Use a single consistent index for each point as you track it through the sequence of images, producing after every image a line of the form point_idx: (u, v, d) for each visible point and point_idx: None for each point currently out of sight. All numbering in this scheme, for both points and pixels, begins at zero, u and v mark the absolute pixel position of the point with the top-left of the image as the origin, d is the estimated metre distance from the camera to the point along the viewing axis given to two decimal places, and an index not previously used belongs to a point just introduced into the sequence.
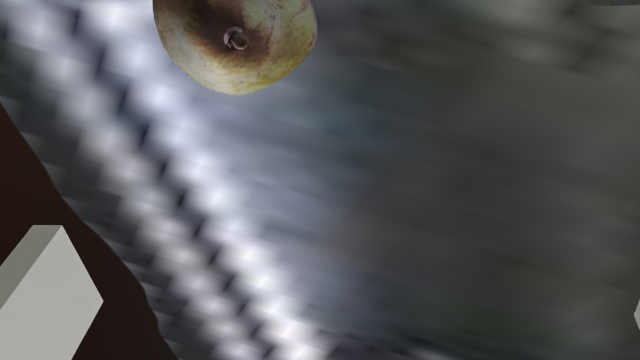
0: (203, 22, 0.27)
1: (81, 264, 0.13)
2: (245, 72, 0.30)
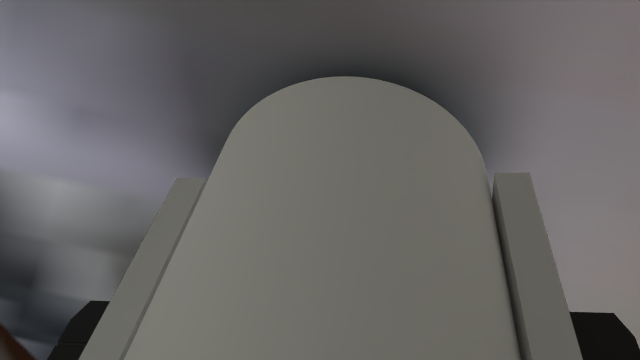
0: None
1: None
2: None
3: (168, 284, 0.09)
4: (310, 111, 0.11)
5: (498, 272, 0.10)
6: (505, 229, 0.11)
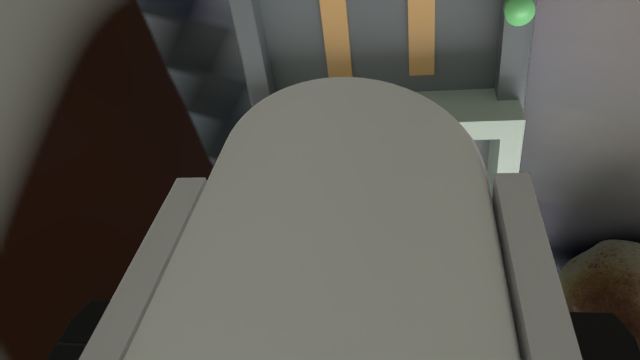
0: None
1: None
2: None
3: (167, 285, 0.09)
4: (310, 111, 0.11)
5: (498, 273, 0.10)
6: (505, 229, 0.11)
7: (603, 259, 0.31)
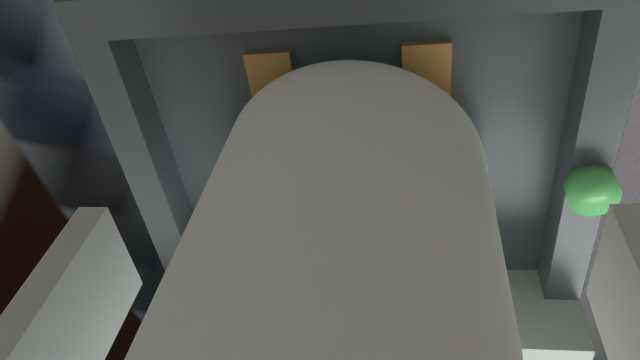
0: None
1: (124, 246, 0.14)
2: None
3: (184, 250, 0.10)
4: (316, 91, 0.12)
5: (494, 240, 0.10)
6: (638, 271, 0.10)
7: None
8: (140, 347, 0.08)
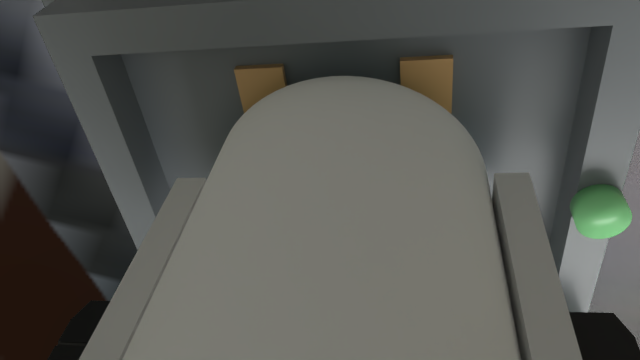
0: None
1: None
2: None
3: (166, 285, 0.09)
4: (309, 110, 0.11)
5: (498, 272, 0.10)
6: (505, 229, 0.11)
7: None
8: None
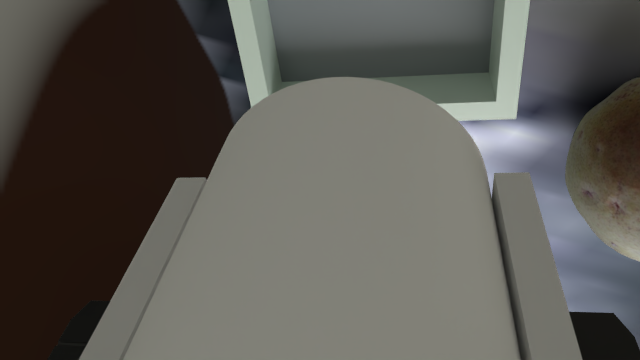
0: None
1: None
2: None
3: (166, 286, 0.09)
4: (309, 111, 0.11)
5: (498, 273, 0.10)
6: (505, 229, 0.11)
7: (633, 88, 0.26)
8: None
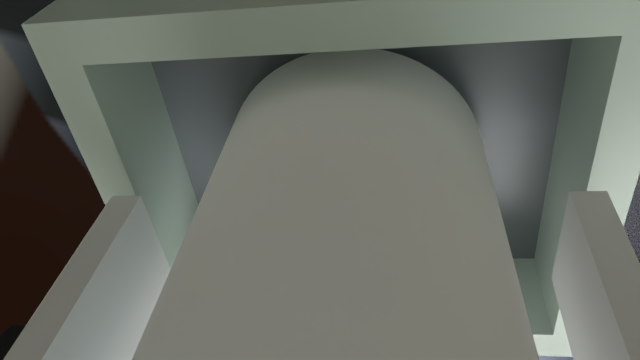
0: None
1: (155, 235, 0.14)
2: None
3: (200, 223, 0.10)
4: (320, 75, 0.12)
5: (496, 211, 0.11)
6: (591, 254, 0.10)
7: None
8: (164, 310, 0.08)
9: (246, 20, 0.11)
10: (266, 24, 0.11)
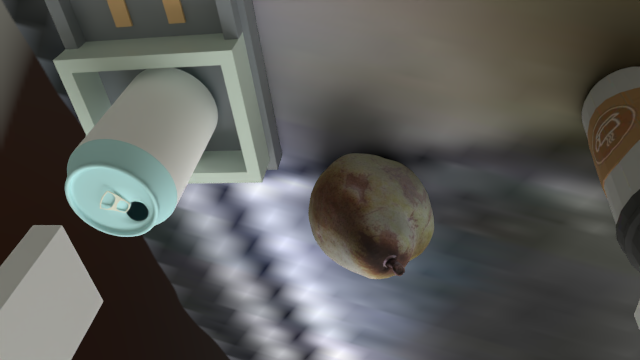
0: (369, 254, 0.37)
1: (81, 264, 0.13)
2: None
3: None
4: (146, 76, 0.39)
5: (189, 116, 0.37)
6: None
7: (334, 163, 0.42)
8: None
9: (119, 60, 0.37)
10: (125, 61, 0.37)
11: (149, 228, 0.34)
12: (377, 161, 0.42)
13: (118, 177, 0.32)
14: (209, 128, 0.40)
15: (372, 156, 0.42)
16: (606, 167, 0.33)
